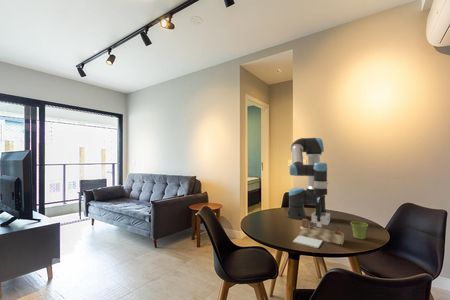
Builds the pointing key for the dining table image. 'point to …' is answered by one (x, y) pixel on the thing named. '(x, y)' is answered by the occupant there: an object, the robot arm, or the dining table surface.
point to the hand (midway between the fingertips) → (320, 224)
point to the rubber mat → (308, 241)
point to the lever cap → (324, 218)
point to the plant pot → (359, 229)
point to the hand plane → (321, 233)
